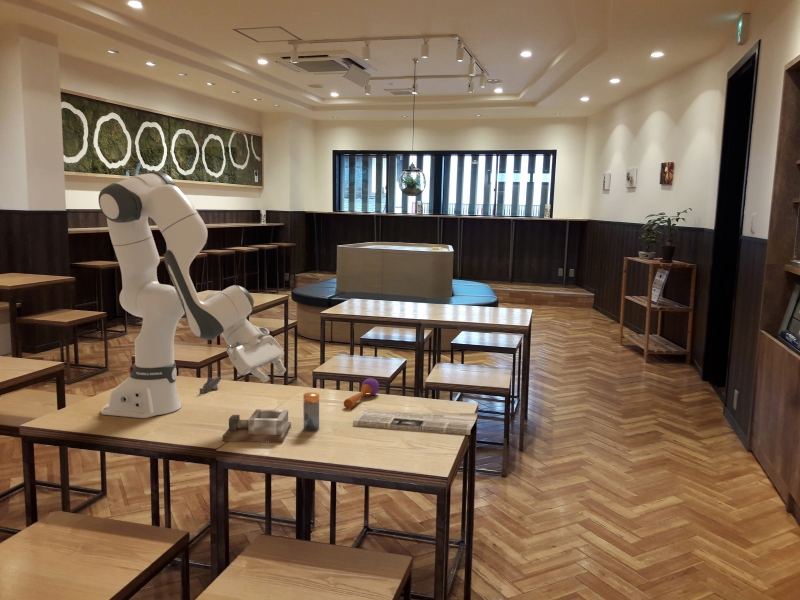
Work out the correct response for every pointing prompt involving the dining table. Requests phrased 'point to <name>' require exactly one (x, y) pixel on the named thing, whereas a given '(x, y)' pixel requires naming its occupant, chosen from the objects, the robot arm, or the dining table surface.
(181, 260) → the robot arm
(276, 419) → the shaft base
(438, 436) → the dining table surface
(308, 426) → the orange topped cylinder
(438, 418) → the newspaper
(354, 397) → the kendama
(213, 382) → the animal figurine
